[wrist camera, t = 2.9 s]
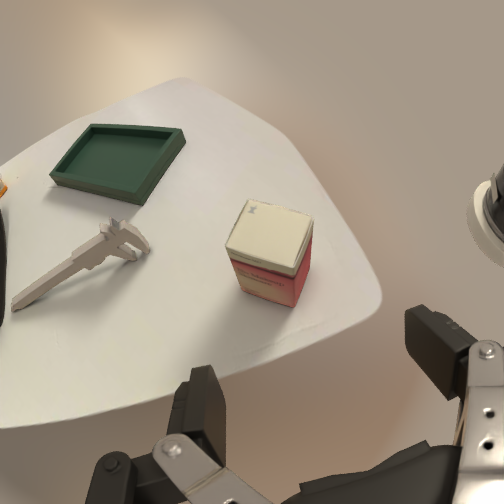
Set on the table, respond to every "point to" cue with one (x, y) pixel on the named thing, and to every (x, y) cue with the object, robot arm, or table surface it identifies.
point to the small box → (271, 251)
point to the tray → (119, 160)
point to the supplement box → (2, 188)
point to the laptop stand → (2, 268)
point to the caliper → (87, 258)
